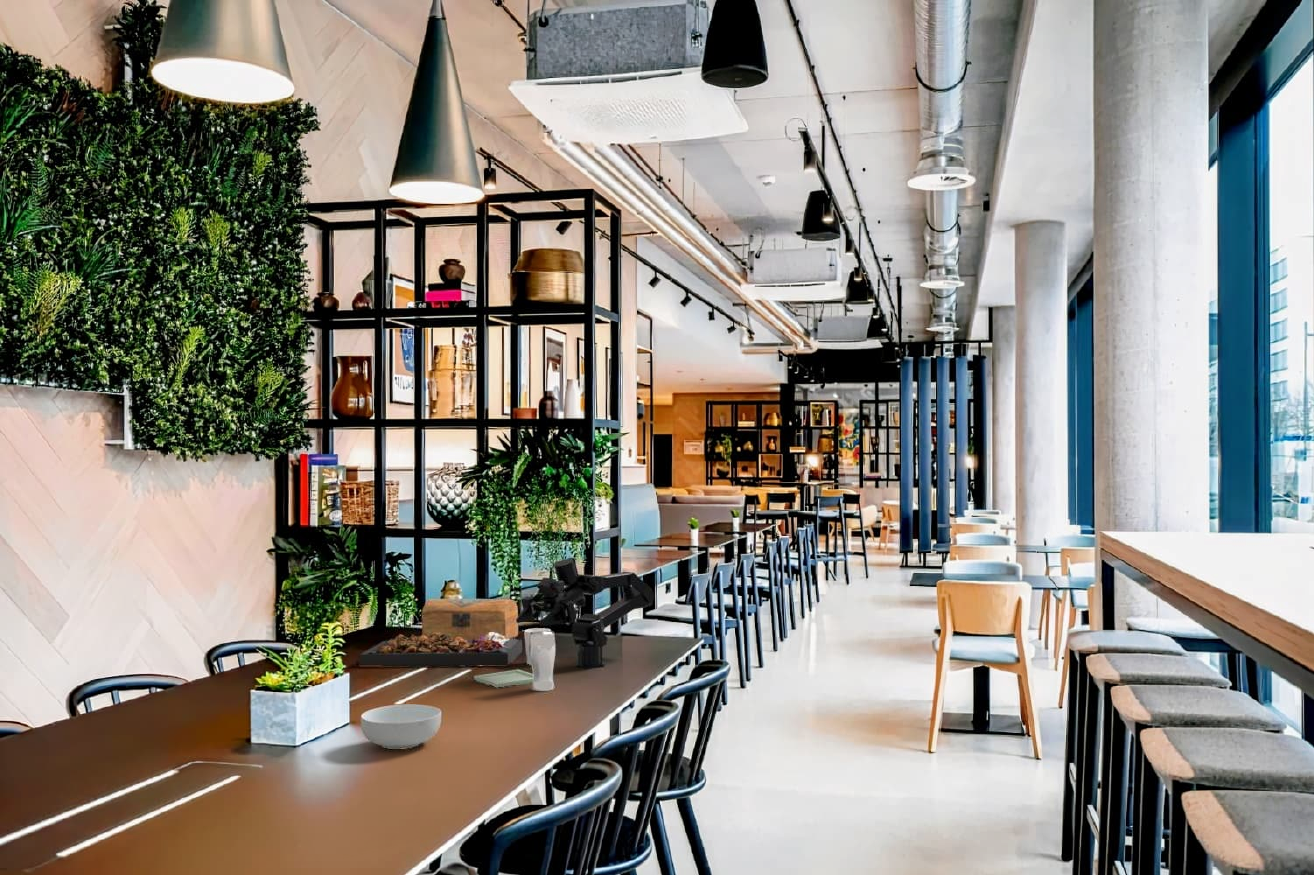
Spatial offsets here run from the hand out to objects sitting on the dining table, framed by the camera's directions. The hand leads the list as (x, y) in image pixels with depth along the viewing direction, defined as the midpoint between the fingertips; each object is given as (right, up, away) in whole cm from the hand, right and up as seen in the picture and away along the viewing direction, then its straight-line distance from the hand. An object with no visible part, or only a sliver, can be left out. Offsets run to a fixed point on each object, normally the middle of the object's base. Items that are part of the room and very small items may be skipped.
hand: (528, 622), depth 298 cm
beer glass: (+5, -16, -12) cm, 21 cm away
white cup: (0, -17, +25) cm, 30 cm away
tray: (-6, -16, 0) cm, 17 cm away
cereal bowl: (-19, -15, -67) cm, 71 cm away
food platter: (-31, -18, +35) cm, 50 cm away
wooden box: (-29, -19, +72) cm, 80 cm away
